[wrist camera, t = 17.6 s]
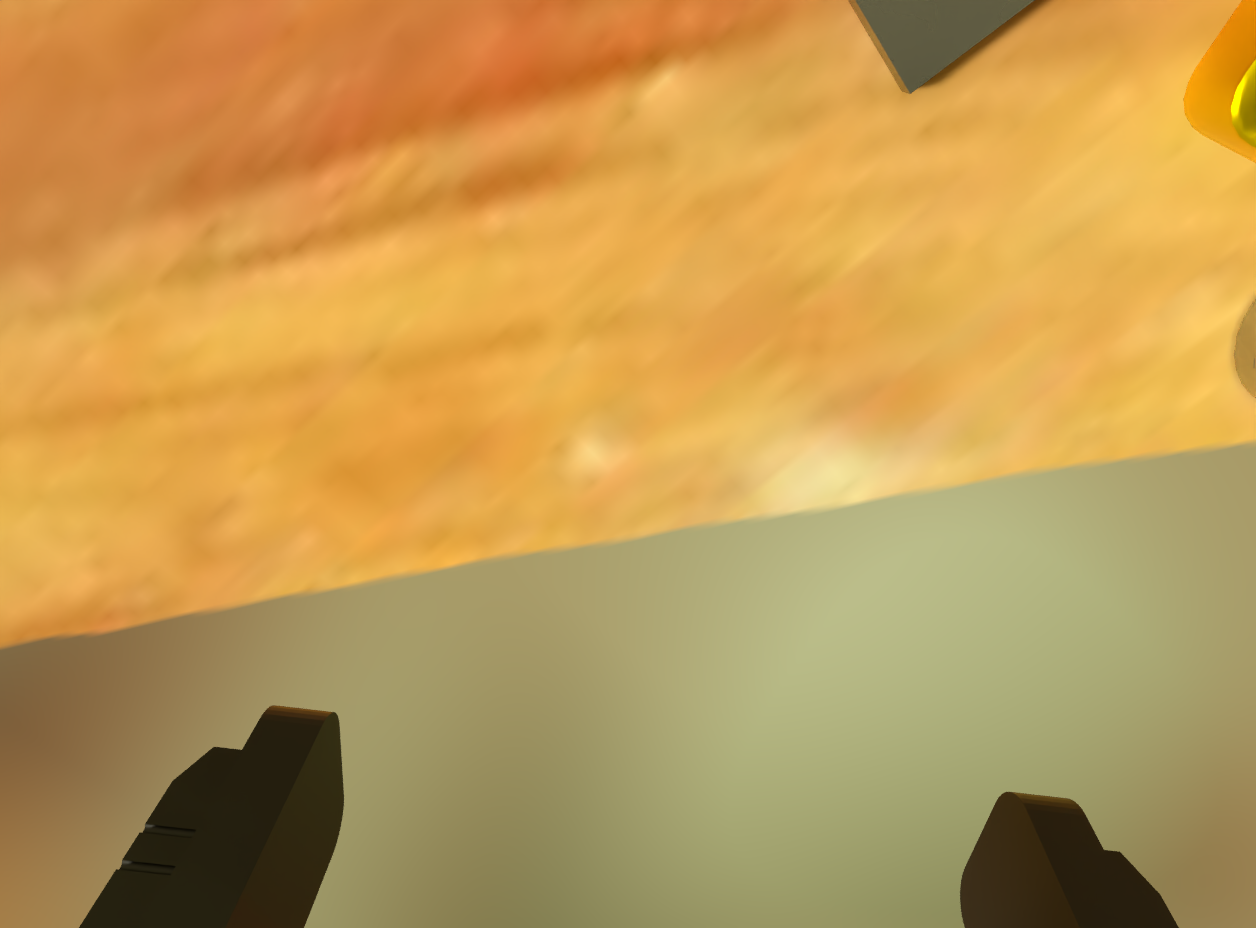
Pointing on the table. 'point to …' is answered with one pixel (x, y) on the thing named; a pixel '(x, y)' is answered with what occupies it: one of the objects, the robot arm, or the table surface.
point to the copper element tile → (1227, 86)
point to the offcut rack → (929, 32)
